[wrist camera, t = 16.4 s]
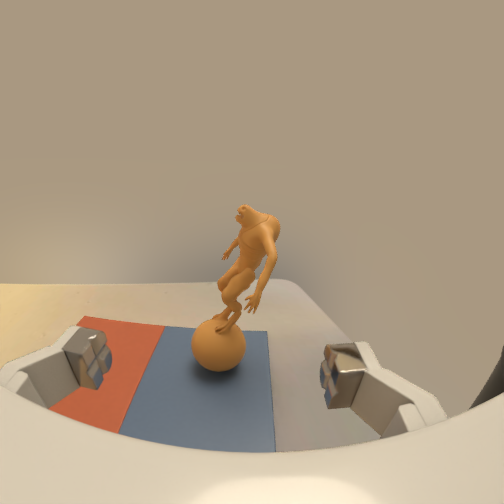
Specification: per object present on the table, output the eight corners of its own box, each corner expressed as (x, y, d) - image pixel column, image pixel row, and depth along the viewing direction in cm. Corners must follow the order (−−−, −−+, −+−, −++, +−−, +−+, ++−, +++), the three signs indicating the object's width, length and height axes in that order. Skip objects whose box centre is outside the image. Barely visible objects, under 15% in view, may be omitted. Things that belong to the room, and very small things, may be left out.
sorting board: (266, 336, 24) (267, 330, 24) (276, 473, 11) (277, 469, 11) (85, 320, 24) (84, 315, 24) (14, 409, 11) (10, 404, 11)
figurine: (190, 336, 23) (181, 197, 19) (256, 329, 24) (261, 195, 21) (199, 407, 15) (181, 221, 12) (287, 393, 17) (309, 217, 13)
